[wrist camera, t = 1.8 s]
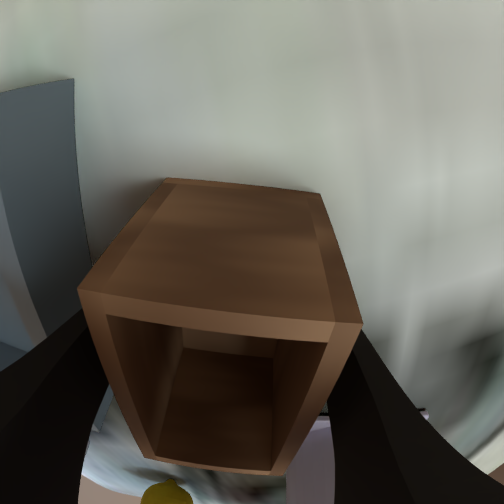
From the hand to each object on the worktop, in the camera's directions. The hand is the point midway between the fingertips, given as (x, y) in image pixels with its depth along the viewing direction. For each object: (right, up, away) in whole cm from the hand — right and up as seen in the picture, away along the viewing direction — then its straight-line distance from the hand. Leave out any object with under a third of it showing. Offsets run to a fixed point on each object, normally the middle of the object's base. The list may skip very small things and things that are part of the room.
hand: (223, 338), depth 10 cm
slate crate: (-11, +3, +2) cm, 12 cm away
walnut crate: (0, +1, +3) cm, 3 cm away
